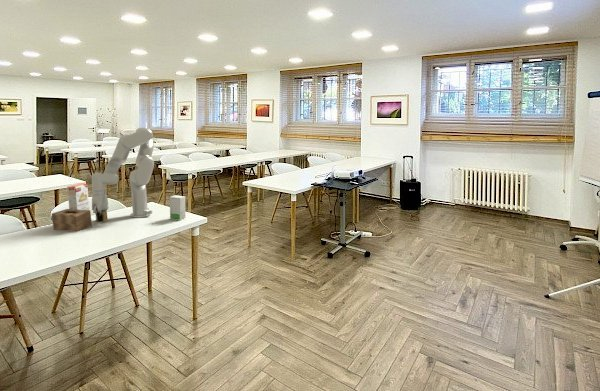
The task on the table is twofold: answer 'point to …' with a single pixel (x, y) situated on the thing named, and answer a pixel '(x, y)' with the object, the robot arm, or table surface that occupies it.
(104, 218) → the token
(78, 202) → the cracker box
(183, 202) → the skincare box
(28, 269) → the table surface
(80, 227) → the coin box
